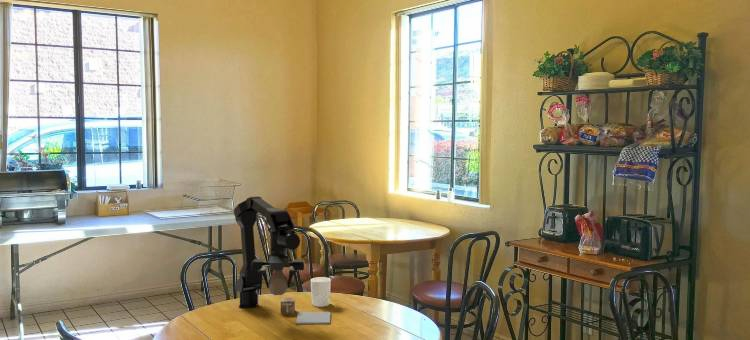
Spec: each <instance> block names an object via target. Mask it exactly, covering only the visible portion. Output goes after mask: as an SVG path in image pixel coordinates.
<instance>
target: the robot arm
mask: <svg viewBox="0 0 750 340" xmlns="http://www.w3.org/2000/svg"><path fill="white" fill-rule="evenodd" d="M289 213H290V212H288V210H287V209H283V208H280V207H279V208H277V207H274V206H272V205H271V204H270V203H268V202H267V201H266V200H264V199H263V198H262V197H261V196H249V197H247V198H246V200H243V201H241V202H240V203H238V204H237V205H236V206H235V207H234V209H233V215H234V217H235V222H236V224H237V225H238V227H239V228H240V237H241V239H240V240H241V251H242V252H241V253H242V254H241V255H242V266H241V269H240V271H239V277H238V280H237V282H236V283H235V291H237V292H239V306H238V308H240V309H241V308H256V307H257V306H258V305H259V299H260V298H259V292H258V290H261V289H262V285H263V281H264V283H265V284H266V288H267V289H269V279H270V277H269V270H270V271H275V270H282V271H283V270H284V268H289V270H288V271H289V272H288V277H287V280H288V288H287V289H290V286H291V283H292V278H293V277H294V275H295V273H299V272H298V271H304V270H305V268H306V267H305V265H306V260H304V259H302V258H301V259H300V258H299V259H297V258H294V259H293V261H290V256H289V255H287V250H290V251H294V250H297V249H298V248H299V246H300V244H301V238H300V236H299V235H298V234H296V230H295V227H294V222H293V220H292V218H291V215H290V214H289ZM258 214H259V215H261V216H262V217H264V218H265V223H266V224H267V225H268V226H269V228H268V229H267V232H270V235H269V237H270V238H269V239H270V240H269V241H270V242H269V243H270V245H269V248H270V249H269V253H270V254H269V257H268V261H265V260H264V258H261V259H260V258H259V259H258V258H256V246H255V245H256V243H255V232H254V226H255V224H256V223H257V220H258Z"/></svg>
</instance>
